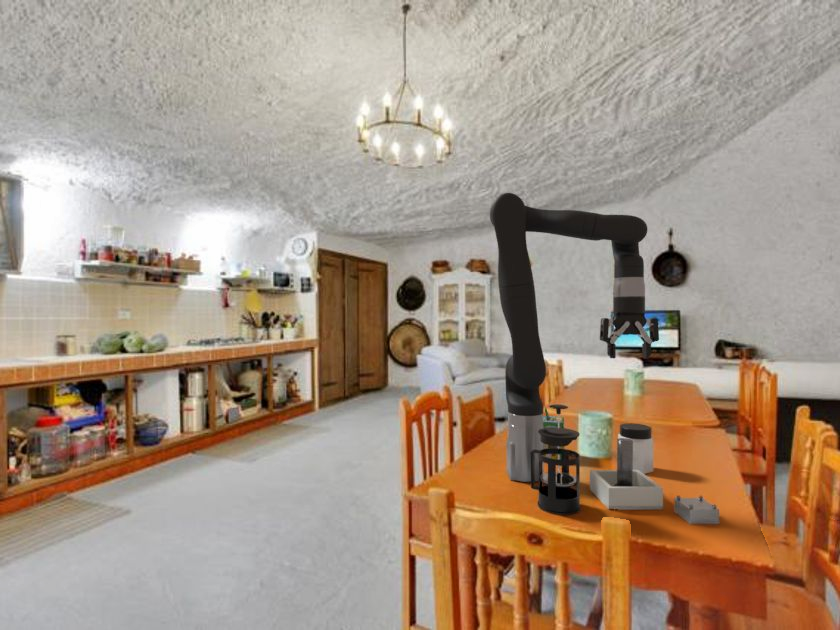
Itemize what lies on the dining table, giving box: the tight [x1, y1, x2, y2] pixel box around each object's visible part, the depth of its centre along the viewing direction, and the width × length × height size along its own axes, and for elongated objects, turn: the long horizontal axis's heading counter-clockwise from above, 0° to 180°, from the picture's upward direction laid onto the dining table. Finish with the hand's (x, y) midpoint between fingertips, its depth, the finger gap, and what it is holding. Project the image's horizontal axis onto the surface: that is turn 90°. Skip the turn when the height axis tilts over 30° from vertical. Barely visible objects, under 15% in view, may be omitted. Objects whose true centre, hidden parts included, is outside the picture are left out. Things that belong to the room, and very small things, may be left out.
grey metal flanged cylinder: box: [614, 438, 633, 486], centre depth 109 cm, size 5×5×13 cm
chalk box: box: [543, 406, 565, 460], centre depth 142 cm, size 9×9×15 cm
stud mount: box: [673, 494, 720, 525], centre depth 99 cm, size 6×6×4 cm
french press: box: [530, 403, 582, 516], centre depth 106 cm, size 12×9×23 cm
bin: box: [589, 469, 664, 511], centre depth 109 cm, size 12×12×5 cm
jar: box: [617, 422, 654, 475], centre depth 130 cm, size 9×8×12 cm
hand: (629, 358), depth 120 cm, fingers open, 8 cm apart
